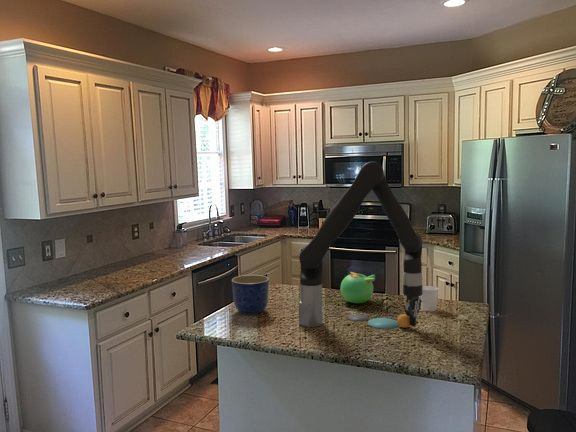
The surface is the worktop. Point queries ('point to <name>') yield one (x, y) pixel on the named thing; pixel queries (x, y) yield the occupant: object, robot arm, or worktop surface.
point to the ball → (403, 321)
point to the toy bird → (357, 287)
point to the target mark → (383, 323)
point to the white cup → (429, 298)
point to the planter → (250, 293)
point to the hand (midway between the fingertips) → (412, 325)
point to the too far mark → (358, 318)
